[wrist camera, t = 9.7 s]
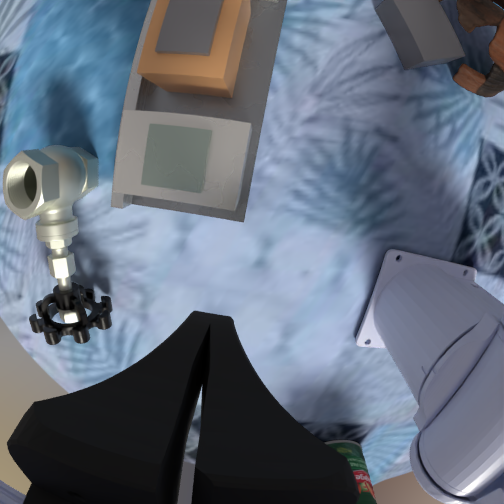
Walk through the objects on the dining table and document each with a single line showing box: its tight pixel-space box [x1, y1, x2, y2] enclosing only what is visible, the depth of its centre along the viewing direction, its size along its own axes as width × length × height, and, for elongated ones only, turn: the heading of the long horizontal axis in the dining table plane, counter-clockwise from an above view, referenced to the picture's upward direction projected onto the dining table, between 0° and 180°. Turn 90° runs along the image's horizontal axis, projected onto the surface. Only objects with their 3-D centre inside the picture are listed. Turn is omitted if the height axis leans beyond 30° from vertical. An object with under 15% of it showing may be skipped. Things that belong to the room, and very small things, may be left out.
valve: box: [3, 145, 112, 345], centre depth 16 cm, size 7×7×12 cm
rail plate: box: [111, 0, 287, 222], centre depth 13 cm, size 8×20×6 cm, turn 170°
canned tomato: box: [324, 440, 377, 504], centre depth 23 cm, size 8×8×11 cm
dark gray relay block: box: [375, 0, 466, 70], centre depth 14 cm, size 4×5×3 cm
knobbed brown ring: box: [438, 0, 504, 97], centre depth 12 cm, size 12×10×8 cm
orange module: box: [137, 0, 251, 98], centre depth 12 cm, size 4×6×5 cm, turn 170°
